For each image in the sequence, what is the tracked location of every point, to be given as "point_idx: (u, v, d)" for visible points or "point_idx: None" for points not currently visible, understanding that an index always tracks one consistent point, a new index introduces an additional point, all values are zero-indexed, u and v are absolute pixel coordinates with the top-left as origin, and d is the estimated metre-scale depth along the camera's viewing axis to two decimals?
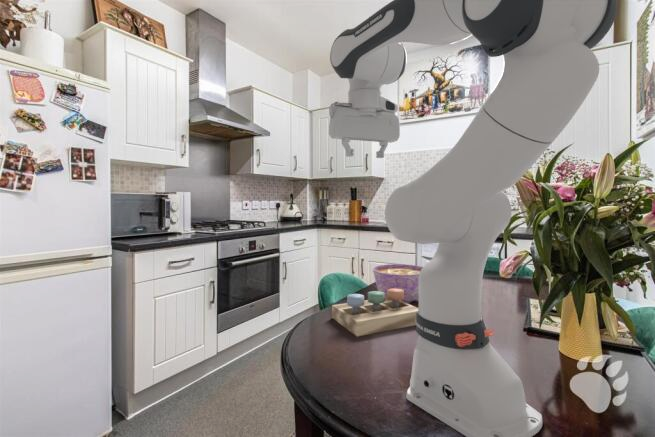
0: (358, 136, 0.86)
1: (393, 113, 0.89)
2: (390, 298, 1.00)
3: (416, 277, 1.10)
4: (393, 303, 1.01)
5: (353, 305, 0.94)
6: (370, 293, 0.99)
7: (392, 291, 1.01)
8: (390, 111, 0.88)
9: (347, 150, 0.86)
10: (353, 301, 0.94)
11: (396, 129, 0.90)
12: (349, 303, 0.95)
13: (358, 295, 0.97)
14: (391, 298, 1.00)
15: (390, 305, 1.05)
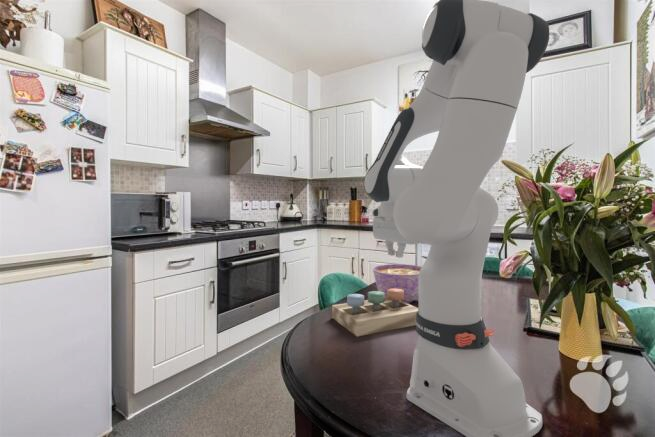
0: None
1: None
2: (390, 298, 1.00)
3: (416, 277, 1.10)
4: (393, 303, 1.01)
5: (353, 305, 0.94)
6: (370, 293, 0.99)
7: (392, 291, 1.01)
8: None
9: (402, 253, 0.99)
10: (353, 301, 0.94)
11: None
12: (349, 303, 0.95)
13: (358, 295, 0.97)
14: (391, 298, 1.00)
15: (390, 305, 1.05)
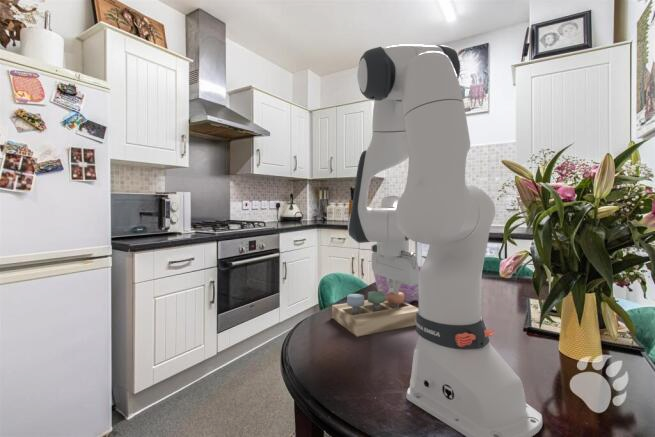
0: None
1: None
2: (390, 301, 1.00)
3: None
4: (393, 306, 1.01)
5: (353, 305, 0.94)
6: (370, 293, 0.99)
7: (392, 294, 1.01)
8: None
9: (397, 289, 1.01)
10: (353, 301, 0.94)
11: None
12: (349, 303, 0.95)
13: (358, 295, 0.97)
14: (391, 301, 1.00)
15: (390, 305, 1.05)
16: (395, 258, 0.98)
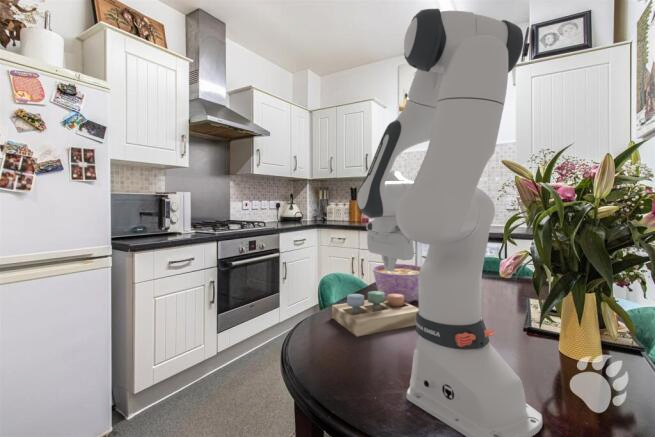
0: None
1: None
2: (390, 303, 1.00)
3: (416, 277, 1.10)
4: (393, 308, 1.01)
5: (353, 305, 0.94)
6: (370, 293, 0.99)
7: (392, 296, 1.01)
8: None
9: (393, 267, 0.99)
10: (353, 301, 0.94)
11: None
12: (349, 303, 0.95)
13: (358, 295, 0.97)
14: (391, 303, 1.00)
15: (390, 305, 1.05)
16: (389, 234, 0.96)
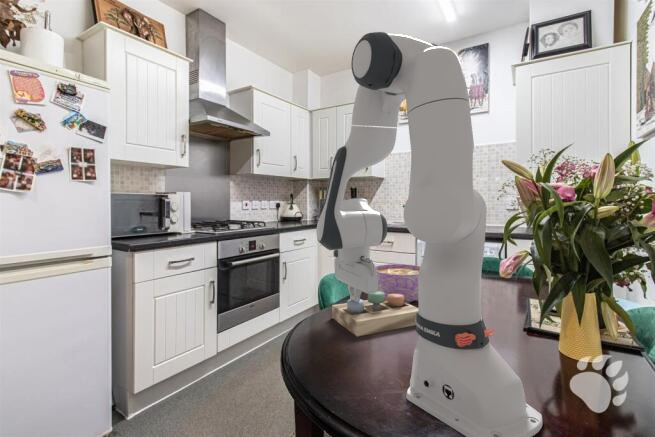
0: None
1: None
2: (390, 303, 1.00)
3: (416, 277, 1.10)
4: (393, 308, 1.01)
5: (353, 310, 0.94)
6: (370, 293, 0.99)
7: (392, 296, 1.01)
8: None
9: (358, 297, 0.95)
10: (353, 306, 0.94)
11: None
12: (349, 308, 0.95)
13: None
14: (391, 303, 1.00)
15: (390, 305, 1.05)
16: (354, 264, 0.92)
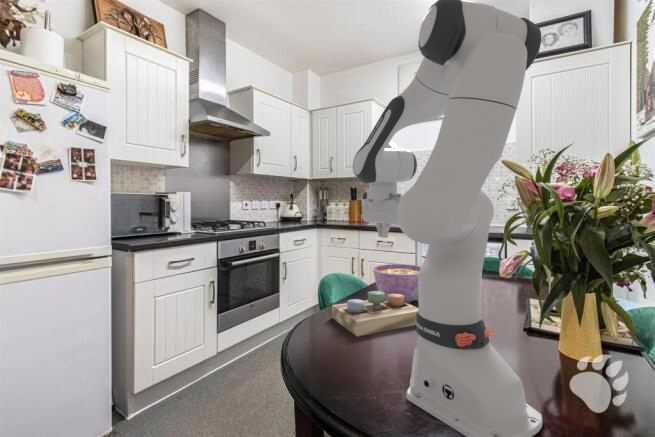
0: None
1: None
2: (390, 303, 1.00)
3: (416, 277, 1.10)
4: (393, 308, 1.01)
5: (353, 311, 0.94)
6: (370, 293, 0.99)
7: (392, 296, 1.01)
8: None
9: (386, 233, 1.04)
10: (353, 307, 0.94)
11: None
12: (349, 309, 0.95)
13: (358, 301, 0.97)
14: (391, 303, 1.00)
15: (390, 305, 1.05)
16: (384, 201, 1.01)
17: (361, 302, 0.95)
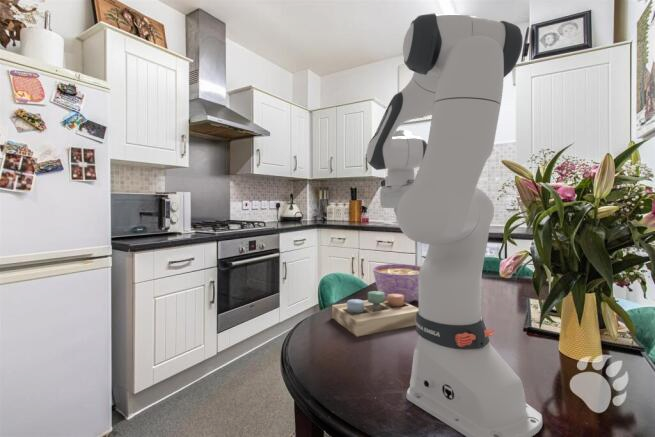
0: None
1: None
2: (390, 303, 1.00)
3: (416, 277, 1.10)
4: (393, 308, 1.01)
5: (353, 311, 0.94)
6: (370, 293, 0.99)
7: (392, 296, 1.01)
8: None
9: None
10: (353, 307, 0.94)
11: None
12: (349, 309, 0.95)
13: (358, 301, 0.97)
14: (391, 303, 1.00)
15: (390, 305, 1.05)
16: (402, 187, 1.07)
17: (361, 302, 0.95)
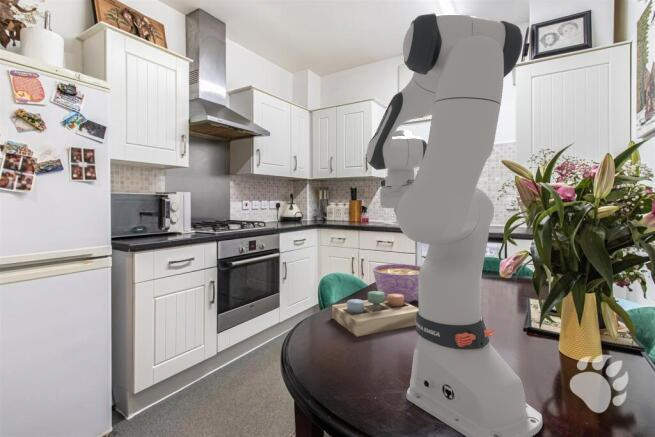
0: None
1: None
2: (390, 303, 1.00)
3: (416, 277, 1.10)
4: (393, 308, 1.01)
5: (353, 311, 0.94)
6: (370, 293, 0.99)
7: (392, 296, 1.01)
8: None
9: None
10: (353, 307, 0.94)
11: None
12: (349, 309, 0.95)
13: (358, 301, 0.97)
14: (391, 303, 1.00)
15: (390, 305, 1.05)
16: (402, 187, 1.07)
17: (361, 302, 0.95)
